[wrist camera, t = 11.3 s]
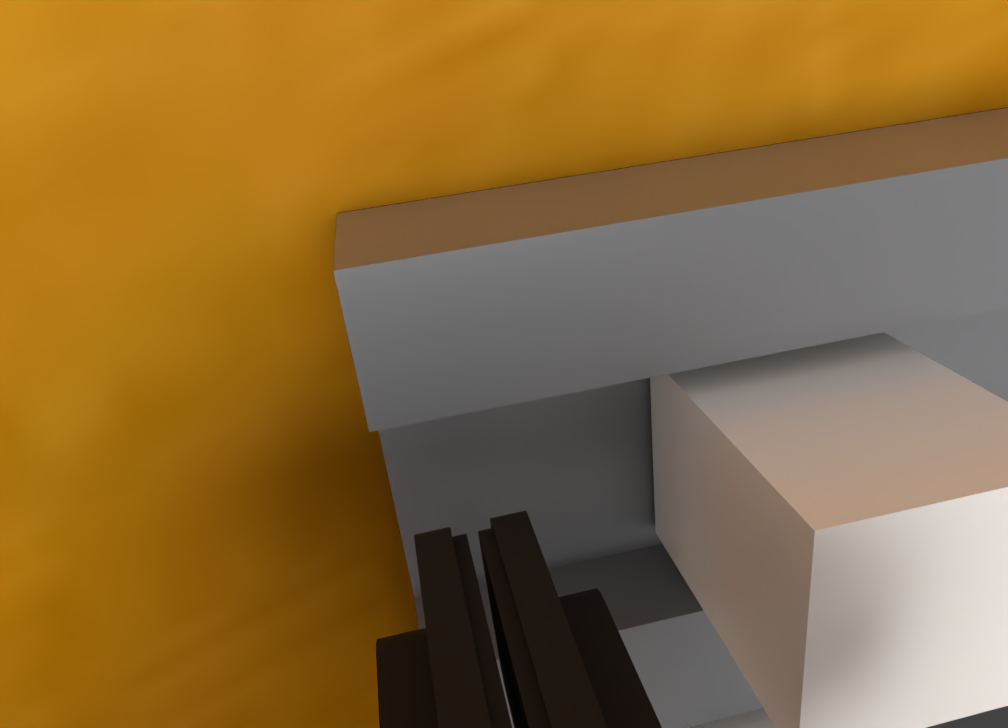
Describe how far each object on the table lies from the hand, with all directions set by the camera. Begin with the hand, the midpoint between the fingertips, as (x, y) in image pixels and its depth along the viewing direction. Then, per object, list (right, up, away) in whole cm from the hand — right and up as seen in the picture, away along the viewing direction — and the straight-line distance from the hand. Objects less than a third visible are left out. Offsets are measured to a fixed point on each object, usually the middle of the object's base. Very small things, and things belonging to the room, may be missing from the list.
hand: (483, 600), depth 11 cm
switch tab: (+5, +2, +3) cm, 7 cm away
